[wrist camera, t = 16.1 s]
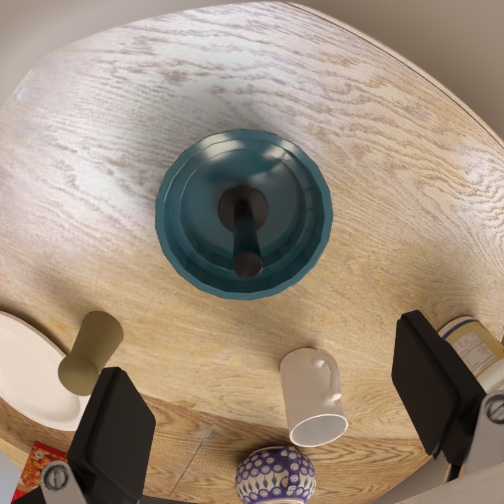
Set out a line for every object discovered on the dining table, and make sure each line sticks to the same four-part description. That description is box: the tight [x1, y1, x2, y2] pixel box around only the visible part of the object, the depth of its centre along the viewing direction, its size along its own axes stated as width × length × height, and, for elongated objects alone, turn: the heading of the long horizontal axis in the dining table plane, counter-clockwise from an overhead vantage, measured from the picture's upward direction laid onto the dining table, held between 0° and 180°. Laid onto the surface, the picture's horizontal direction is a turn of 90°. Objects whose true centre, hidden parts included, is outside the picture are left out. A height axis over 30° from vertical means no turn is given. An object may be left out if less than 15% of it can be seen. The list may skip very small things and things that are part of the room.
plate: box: [0, 311, 91, 431], centre depth 40 cm, size 28×28×2 cm
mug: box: [280, 348, 348, 447], centre depth 35 cm, size 10×7×12 cm, turn 163°
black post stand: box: [218, 184, 269, 279], centre depth 25 cm, size 5×5×14 cm
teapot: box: [235, 446, 316, 504], centre depth 44 cm, size 25×15×15 cm, turn 168°
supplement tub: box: [438, 316, 504, 395], centre depth 35 cm, size 12×12×17 cm
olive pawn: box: [58, 311, 123, 396], centre depth 33 cm, size 6×6×11 cm
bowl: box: [155, 129, 333, 300], centre depth 30 cm, size 16×16×6 cm
